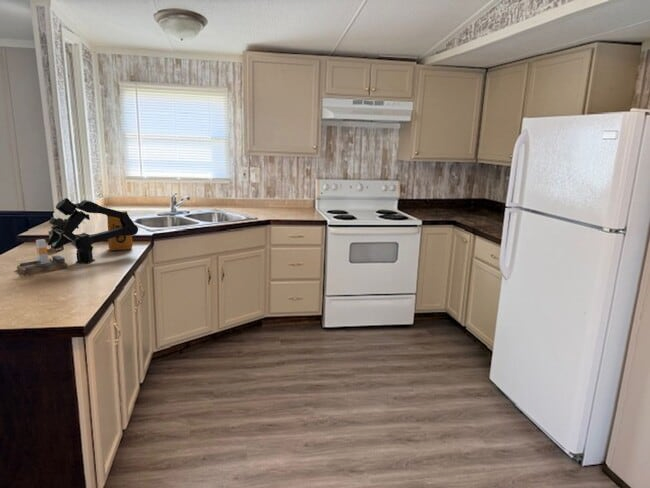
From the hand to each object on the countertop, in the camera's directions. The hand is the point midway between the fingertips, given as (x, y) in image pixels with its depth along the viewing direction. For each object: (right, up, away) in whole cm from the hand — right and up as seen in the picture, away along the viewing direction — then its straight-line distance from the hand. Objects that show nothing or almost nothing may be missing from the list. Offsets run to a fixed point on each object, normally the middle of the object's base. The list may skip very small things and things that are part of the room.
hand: (51, 246), depth 211 cm
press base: (-3, -11, -1) cm, 11 cm away
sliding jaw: (-3, -9, -1) cm, 9 cm away
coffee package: (+15, -2, +40) cm, 42 cm away
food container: (-18, -2, +36) cm, 40 cm away
